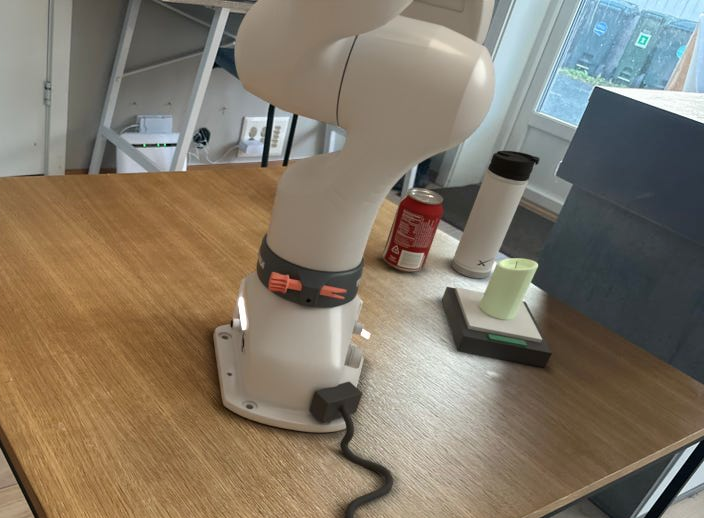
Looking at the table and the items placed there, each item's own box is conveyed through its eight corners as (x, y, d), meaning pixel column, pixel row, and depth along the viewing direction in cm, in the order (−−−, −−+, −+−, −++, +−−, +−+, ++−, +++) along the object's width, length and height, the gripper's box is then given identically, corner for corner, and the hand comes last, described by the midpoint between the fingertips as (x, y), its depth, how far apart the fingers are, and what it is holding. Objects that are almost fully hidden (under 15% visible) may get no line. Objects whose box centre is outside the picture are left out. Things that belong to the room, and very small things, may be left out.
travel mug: (485, 283, 113) (535, 163, 102) (446, 268, 116) (491, 149, 104) (494, 271, 118) (543, 155, 107) (456, 257, 120) (501, 142, 109)
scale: (544, 367, 95) (554, 349, 93) (457, 350, 95) (465, 332, 93) (519, 315, 106) (527, 298, 104) (441, 300, 106) (448, 282, 104)
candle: (474, 310, 99) (497, 257, 94) (484, 297, 102) (506, 247, 98) (509, 324, 97) (534, 271, 92) (518, 311, 100) (542, 260, 96)
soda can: (423, 278, 111) (448, 207, 105) (380, 268, 112) (403, 197, 105) (421, 260, 117) (445, 192, 110) (381, 251, 117) (403, 182, 111)
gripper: (344, -64, 90) (319, 50, 98) (497, -30, 82) (456, 92, 90) (365, -62, 95) (340, 47, 103) (512, -30, 87) (472, 86, 94)
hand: (395, 68), depth 96 cm, fingers open, 8 cm apart
